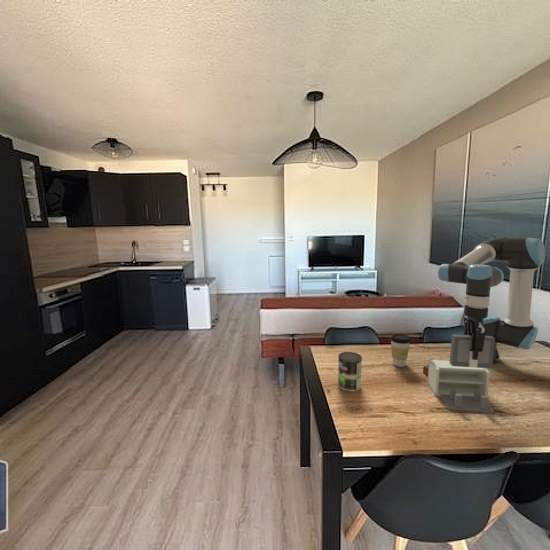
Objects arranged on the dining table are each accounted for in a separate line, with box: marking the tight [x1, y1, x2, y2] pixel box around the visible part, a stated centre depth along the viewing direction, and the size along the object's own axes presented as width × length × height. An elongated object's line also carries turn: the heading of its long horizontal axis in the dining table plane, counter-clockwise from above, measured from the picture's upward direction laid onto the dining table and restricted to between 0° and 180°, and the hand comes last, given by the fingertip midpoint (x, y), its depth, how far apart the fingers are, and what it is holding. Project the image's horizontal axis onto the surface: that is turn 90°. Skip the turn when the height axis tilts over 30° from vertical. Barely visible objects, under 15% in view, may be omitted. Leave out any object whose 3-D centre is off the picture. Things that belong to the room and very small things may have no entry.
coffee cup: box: [389, 333, 412, 367], centre depth 157 cm, size 10×10×15 cm
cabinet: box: [427, 358, 495, 414], centre depth 126 cm, size 20×20×12 cm
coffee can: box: [337, 351, 363, 392], centre depth 137 cm, size 10×10×14 cm
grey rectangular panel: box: [449, 333, 495, 369], centre depth 117 cm, size 14×3×12 cm, turn 80°
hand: (470, 364), depth 118 cm, fingers closed on grey rectangular panel, 3 cm apart
